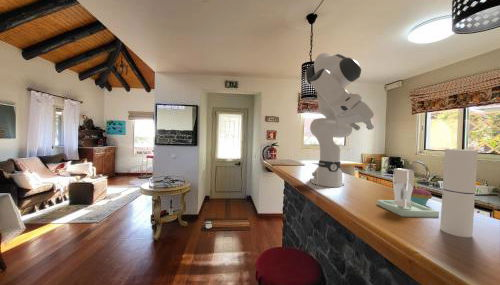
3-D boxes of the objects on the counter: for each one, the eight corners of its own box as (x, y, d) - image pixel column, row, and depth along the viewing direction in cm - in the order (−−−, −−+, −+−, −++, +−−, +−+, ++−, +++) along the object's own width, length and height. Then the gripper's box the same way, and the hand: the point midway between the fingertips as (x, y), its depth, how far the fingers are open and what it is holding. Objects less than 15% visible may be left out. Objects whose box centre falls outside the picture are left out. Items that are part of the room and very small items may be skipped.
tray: (377, 204, 94) (377, 199, 94) (408, 205, 95) (409, 200, 95) (401, 216, 80) (402, 210, 80) (438, 217, 81) (438, 211, 81)
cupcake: (412, 206, 94) (414, 177, 93) (402, 200, 102) (404, 174, 102) (435, 208, 92) (437, 179, 92) (423, 202, 100) (425, 175, 100)
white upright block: (406, 205, 91) (408, 168, 91) (416, 210, 85) (418, 171, 84) (388, 203, 92) (390, 167, 92) (397, 209, 86) (398, 170, 85)
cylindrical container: (451, 236, 64) (456, 149, 64) (434, 226, 71) (439, 148, 71) (479, 238, 63) (485, 150, 63) (459, 228, 70) (464, 149, 70)
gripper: (326, 111, 100) (346, 134, 101) (349, 105, 80) (374, 133, 80) (336, 102, 100) (356, 125, 101) (362, 93, 80) (386, 122, 81)
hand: (364, 129), depth 91 cm, fingers open, 8 cm apart
